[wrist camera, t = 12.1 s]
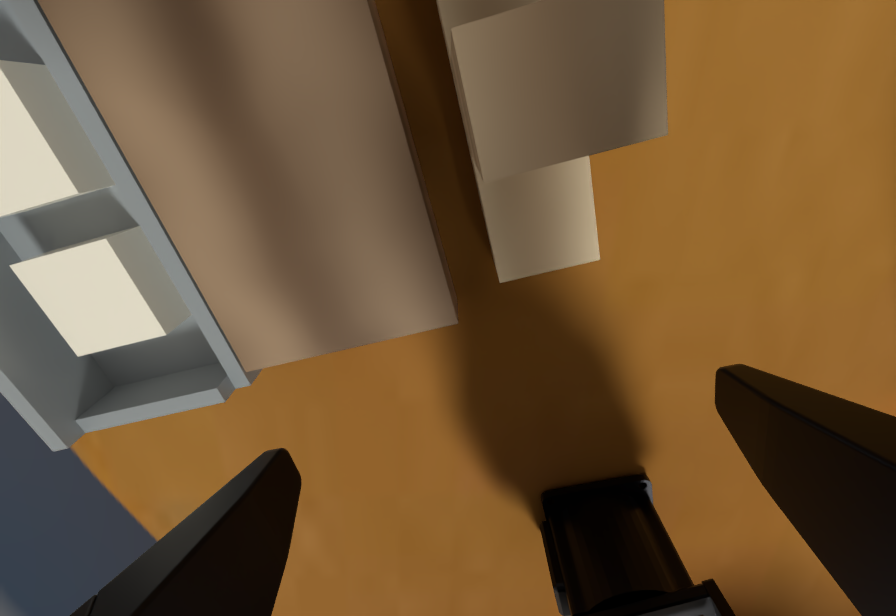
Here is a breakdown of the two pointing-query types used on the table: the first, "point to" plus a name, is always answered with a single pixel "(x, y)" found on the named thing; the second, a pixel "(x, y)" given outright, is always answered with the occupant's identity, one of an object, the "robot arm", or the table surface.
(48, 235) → the grey tray
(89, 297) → the cream tile
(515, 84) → the beige l-shaped block
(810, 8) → the table surface
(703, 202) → the table surface
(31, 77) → the cream tile
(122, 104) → the tan flat block
